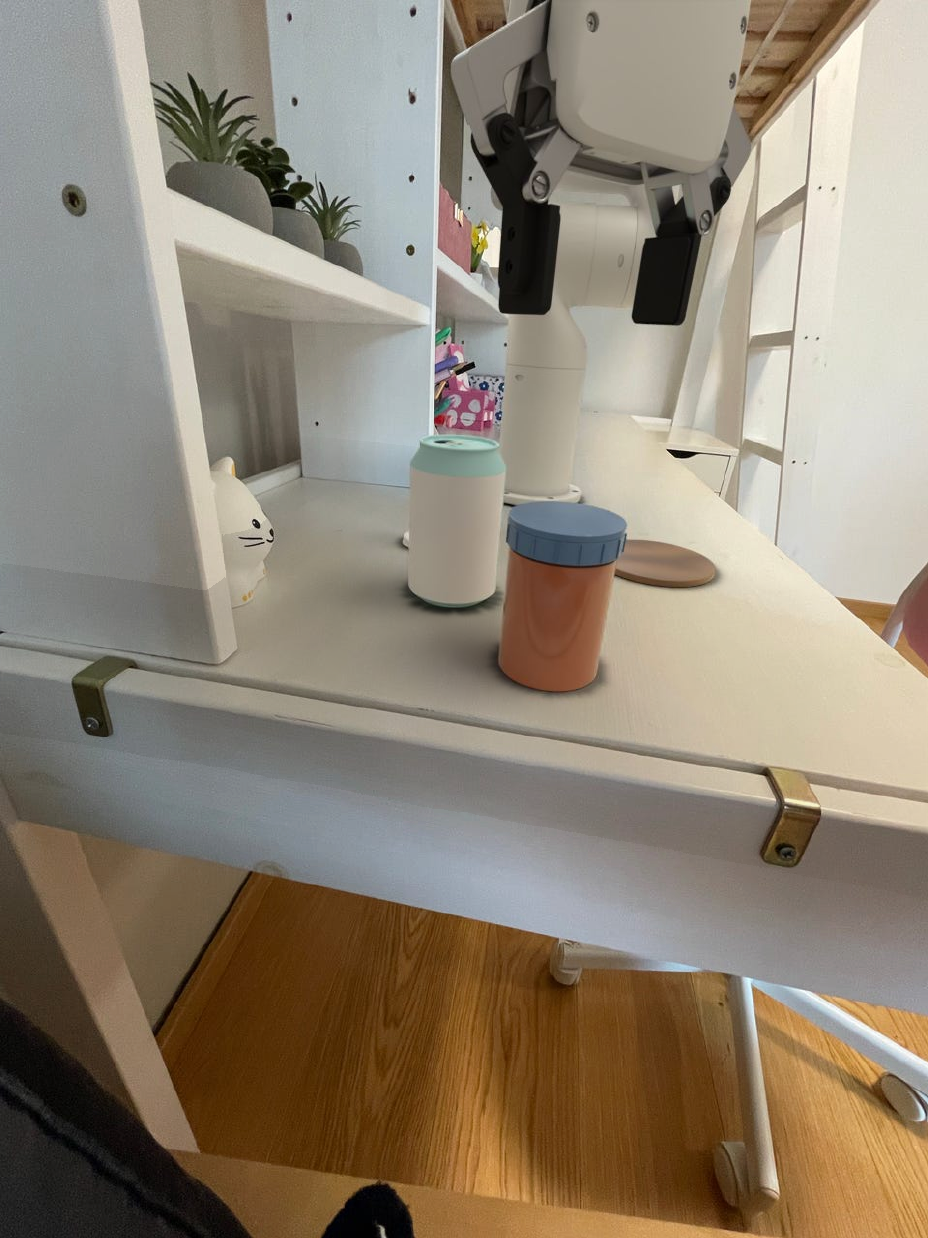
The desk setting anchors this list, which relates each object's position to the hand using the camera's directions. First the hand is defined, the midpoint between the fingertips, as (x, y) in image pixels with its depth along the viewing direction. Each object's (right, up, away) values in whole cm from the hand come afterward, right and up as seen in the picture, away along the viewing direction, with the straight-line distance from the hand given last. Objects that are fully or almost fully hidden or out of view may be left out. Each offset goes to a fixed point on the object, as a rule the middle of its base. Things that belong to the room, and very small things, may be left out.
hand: (594, 318), depth 29 cm
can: (-7, -13, +18) cm, 24 cm away
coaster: (+12, -10, +27) cm, 31 cm away
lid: (-1, -9, +5) cm, 11 cm away
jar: (-1, -18, +9) cm, 20 cm away
